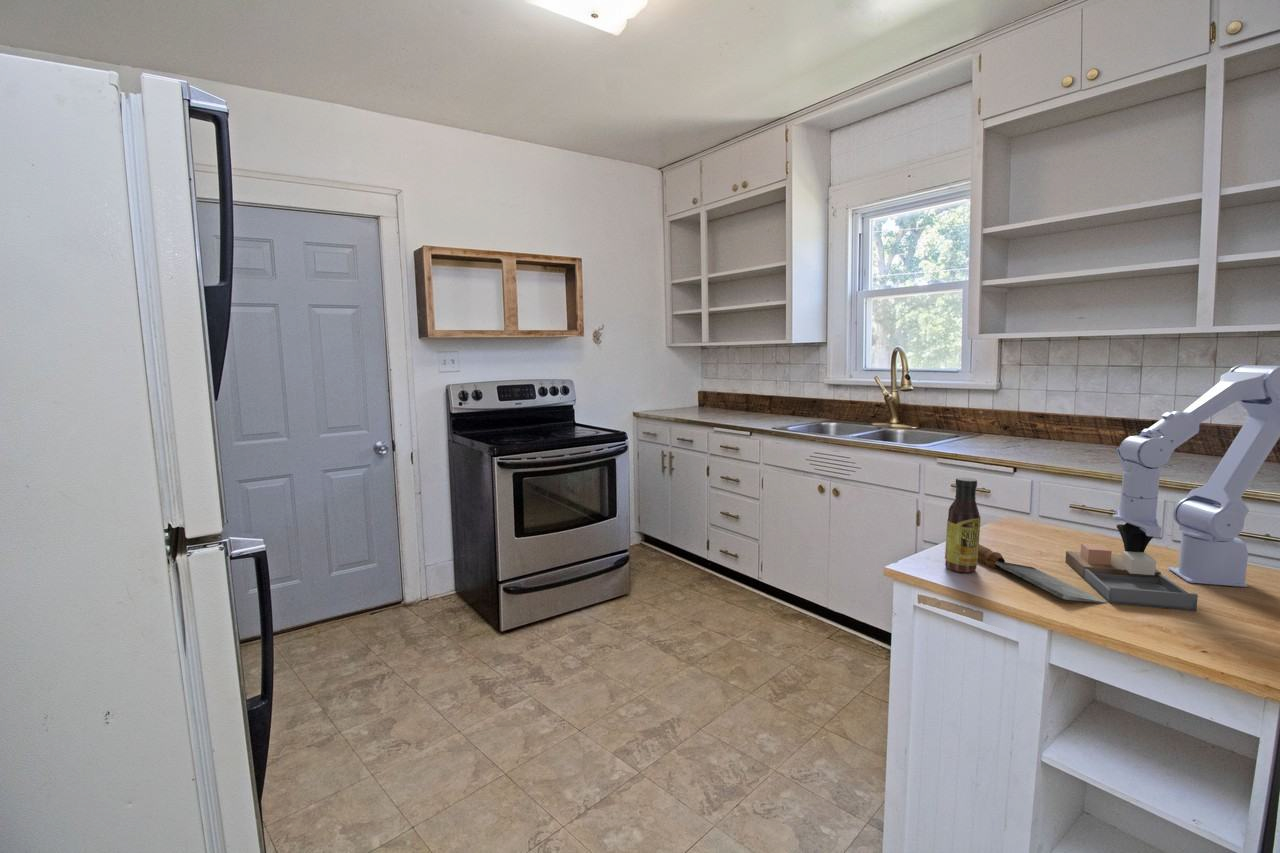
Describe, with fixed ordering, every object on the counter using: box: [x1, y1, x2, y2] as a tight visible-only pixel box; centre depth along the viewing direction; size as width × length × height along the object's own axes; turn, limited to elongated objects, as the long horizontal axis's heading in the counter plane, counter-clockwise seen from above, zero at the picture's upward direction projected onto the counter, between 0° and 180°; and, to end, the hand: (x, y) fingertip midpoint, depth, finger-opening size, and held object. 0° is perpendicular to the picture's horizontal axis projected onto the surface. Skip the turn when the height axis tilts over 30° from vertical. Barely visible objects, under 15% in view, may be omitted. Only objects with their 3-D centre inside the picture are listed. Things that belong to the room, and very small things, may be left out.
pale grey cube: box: [1122, 550, 1157, 575], centre depth 120 cm, size 4×4×3 cm
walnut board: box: [1064, 550, 1162, 580], centre depth 126 cm, size 13×10×2 cm
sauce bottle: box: [944, 477, 982, 574], centre depth 129 cm, size 6×6×20 cm
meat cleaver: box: [978, 543, 1109, 604], centre depth 128 cm, size 34×11×4 cm, turn 7°
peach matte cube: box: [1080, 543, 1113, 565], centre depth 126 cm, size 4×4×3 cm
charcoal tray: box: [1083, 569, 1199, 612], centre depth 115 cm, size 13×12×3 cm
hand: (1133, 560), depth 123 cm, fingers closed, pressing on pale grey cube
